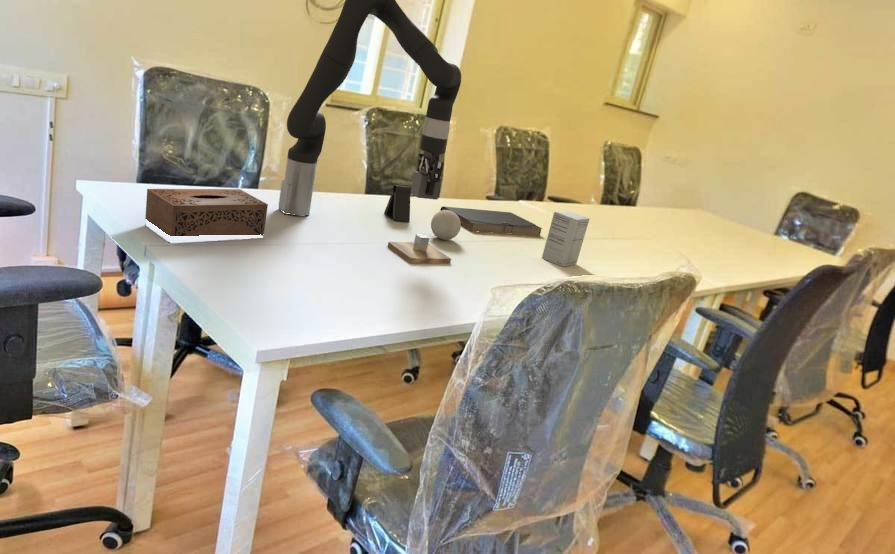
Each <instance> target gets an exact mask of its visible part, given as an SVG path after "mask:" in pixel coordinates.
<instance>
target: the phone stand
mask: <svg viewBox="0 0 895 554" xmlns="http://www.w3.org/2000/svg"><path fill="white" fill-rule="evenodd" d="M411 188H412V186H410V185H402V184H401V185H400V184H394V185H393V187H392V190H391V191H392V192H391V194H390V196H389V199H388V202H387V204H386V207H385V210H384V212H383V214H384V215H385V217H387V218H388V219H390V220H391V221H393V222H397V223H410V220H411V219H410V216H411V194H412V193H411Z"/></svg>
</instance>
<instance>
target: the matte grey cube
mask: <svg viewBox="0 0 895 554" xmlns="http://www.w3.org/2000/svg"><path fill="white" fill-rule="evenodd" d="M414 236H415V237H414V246H413V249H415V250H416V251H417V252H427V247H428V244H429V242H430V237H429V236H428V235H426V234H420V233H419V234H418V233H416V234H415V235H414Z"/></svg>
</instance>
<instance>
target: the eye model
mask: <svg viewBox="0 0 895 554" xmlns="http://www.w3.org/2000/svg"><path fill="white" fill-rule="evenodd" d="M430 228H431V232H432V234H433V235H434V236H435V237H437V238H438V239H440V240H442V241H443V240H444V241H448V240H449V241H450V240H452V239H454V238H455V237H457V236H458V234H459V232H460V231H461V228H462V226H461V222H460V219H459V217H458V216H457V214H456V213H454V212H452V211H450V210H442V211H440V210H439V211H438V212H436V213H434V215H433V217H432V219H431V222H430Z"/></svg>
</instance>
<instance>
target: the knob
mask: <svg viewBox="0 0 895 554" xmlns="http://www.w3.org/2000/svg"><path fill="white" fill-rule="evenodd" d="M437 176H438V175H437ZM427 182H428V175H427V174H426V169H420V171H417V170H414V171H413V177H412V183H411V194H412V195H414V196H415V197H416V198H417V199H418V198H419V199H426V200H427V199H428V200H436V201H437V200H438V199H439V194H440V189H441V188H440V187H441V184H442V176H441V177H440V181H439V182H437V183H435V187H434V193H433V195H432V196H430V195H426V194H425V192H426V187H427Z"/></svg>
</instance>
